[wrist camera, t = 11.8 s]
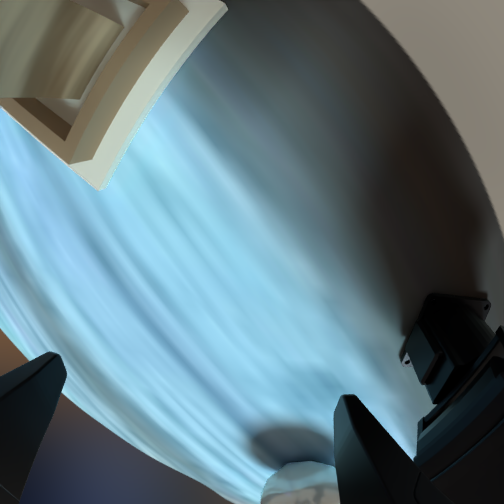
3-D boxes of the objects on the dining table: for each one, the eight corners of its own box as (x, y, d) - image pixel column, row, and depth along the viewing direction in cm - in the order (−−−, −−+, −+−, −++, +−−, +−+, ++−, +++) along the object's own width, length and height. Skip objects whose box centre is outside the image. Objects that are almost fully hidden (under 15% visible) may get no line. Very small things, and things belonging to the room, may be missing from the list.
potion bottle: (281, 434, 28) (353, 464, 32) (227, 495, 25) (310, 514, 30) (333, 480, 19) (400, 495, 24) (263, 550, 17) (348, 550, 21)
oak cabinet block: (124, 27, 14) (-31, -35, 2) (79, 99, 16) (-89, 106, 4) (77, 6, 13) (-59, -36, 1) (38, 71, 15) (-105, 72, 3)
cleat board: (228, 9, 14) (206, -32, 9) (106, 188, 19) (54, 208, 14) (89, -43, 12) (50, -67, 7) (3, 102, 17) (-44, 106, 12)
